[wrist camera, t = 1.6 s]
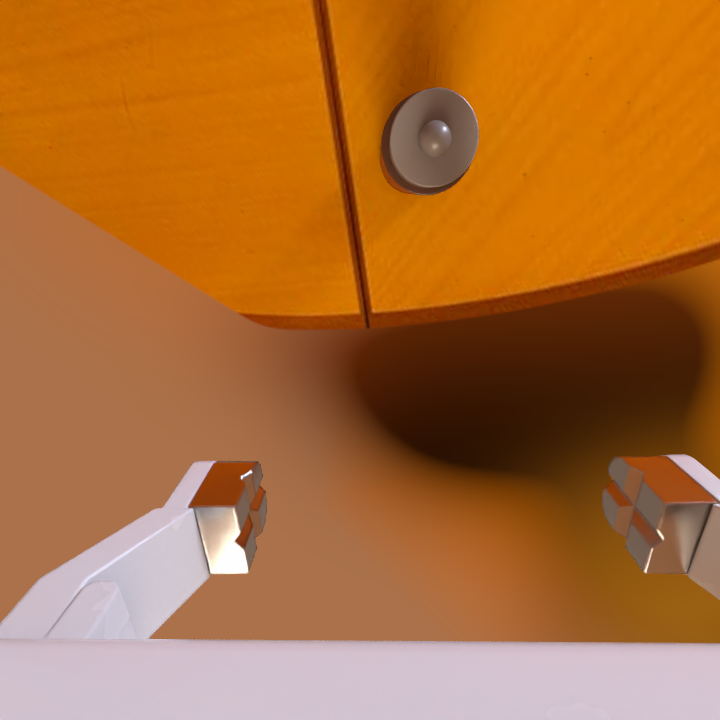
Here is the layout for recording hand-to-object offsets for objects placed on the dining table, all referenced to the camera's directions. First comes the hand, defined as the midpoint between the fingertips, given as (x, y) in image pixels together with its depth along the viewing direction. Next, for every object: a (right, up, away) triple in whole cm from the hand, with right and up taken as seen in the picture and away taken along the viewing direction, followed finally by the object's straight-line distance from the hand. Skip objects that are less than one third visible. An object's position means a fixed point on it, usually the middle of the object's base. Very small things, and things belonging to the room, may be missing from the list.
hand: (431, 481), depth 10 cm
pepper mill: (+3, +19, +23) cm, 30 cm away
